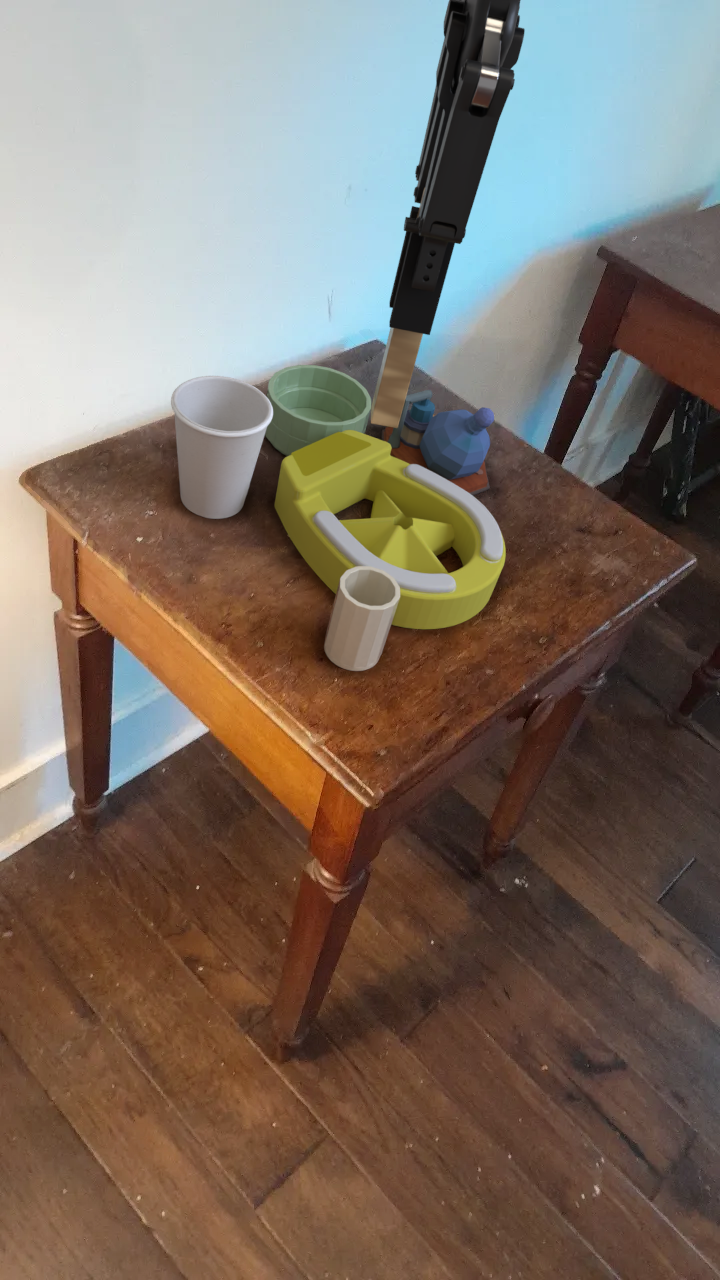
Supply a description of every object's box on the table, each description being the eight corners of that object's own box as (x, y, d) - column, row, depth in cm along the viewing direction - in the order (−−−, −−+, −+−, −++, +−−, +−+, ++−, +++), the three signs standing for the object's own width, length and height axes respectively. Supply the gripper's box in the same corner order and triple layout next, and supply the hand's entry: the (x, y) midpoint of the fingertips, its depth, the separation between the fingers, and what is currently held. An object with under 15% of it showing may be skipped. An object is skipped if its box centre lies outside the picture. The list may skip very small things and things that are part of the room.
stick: (370, 423, 68) (425, 199, 56) (370, 408, 69) (424, 186, 58) (397, 428, 68) (457, 206, 57) (397, 413, 69) (455, 193, 58)
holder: (322, 667, 74) (339, 604, 69) (324, 624, 77) (340, 561, 72) (380, 675, 74) (400, 613, 69) (380, 632, 77) (399, 570, 72)
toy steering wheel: (365, 457, 94) (375, 414, 90) (528, 577, 86) (547, 536, 82) (241, 517, 84) (247, 472, 80) (413, 658, 76) (429, 616, 73)
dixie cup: (268, 483, 88) (283, 390, 81) (245, 539, 82) (259, 444, 75) (181, 459, 88) (188, 364, 80) (152, 513, 82) (157, 416, 75)
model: (505, 484, 95) (535, 406, 89) (437, 508, 90) (464, 427, 84) (429, 418, 101) (453, 340, 94) (362, 437, 96) (382, 356, 89)
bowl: (257, 458, 90) (264, 413, 86) (265, 400, 97) (272, 356, 93) (360, 475, 91) (371, 432, 88) (361, 417, 98) (371, 375, 95)
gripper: (620, -73, 41) (470, 390, 58) (574, -130, 52) (458, 277, 69) (454, -116, 40) (350, 367, 57) (441, -165, 51) (356, 256, 68)
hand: (409, 317), depth 63 cm, fingers closed on stick, 2 cm apart
